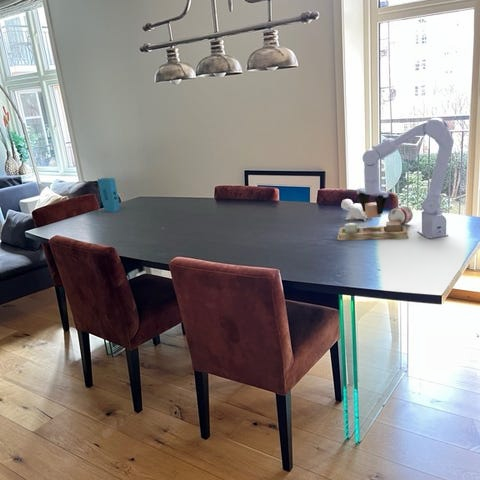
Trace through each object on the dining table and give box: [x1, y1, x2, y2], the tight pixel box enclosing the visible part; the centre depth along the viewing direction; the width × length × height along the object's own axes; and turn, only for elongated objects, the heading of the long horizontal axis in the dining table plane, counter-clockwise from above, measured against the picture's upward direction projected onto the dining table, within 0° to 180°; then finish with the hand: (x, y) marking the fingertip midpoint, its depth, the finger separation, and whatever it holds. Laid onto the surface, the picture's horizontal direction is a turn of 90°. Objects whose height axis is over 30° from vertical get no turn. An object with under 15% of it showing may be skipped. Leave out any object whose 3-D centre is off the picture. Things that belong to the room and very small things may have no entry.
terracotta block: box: [365, 201, 382, 219], centre depth 191 cm, size 5×5×5 cm
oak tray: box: [337, 225, 409, 241], centre depth 190 cm, size 27×10×2 cm, turn 76°
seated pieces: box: [344, 221, 401, 233], centre depth 189 cm, size 21×5×4 cm, turn 76°
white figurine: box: [340, 198, 372, 222], centre depth 215 cm, size 9×8×15 cm
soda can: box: [387, 206, 414, 226], centre depth 195 cm, size 7×7×12 cm
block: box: [97, 177, 120, 213], centre depth 290 cm, size 12×5×20 cm, turn 51°
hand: (372, 212), depth 192 cm, fingers closed on terracotta block, 7 cm apart
